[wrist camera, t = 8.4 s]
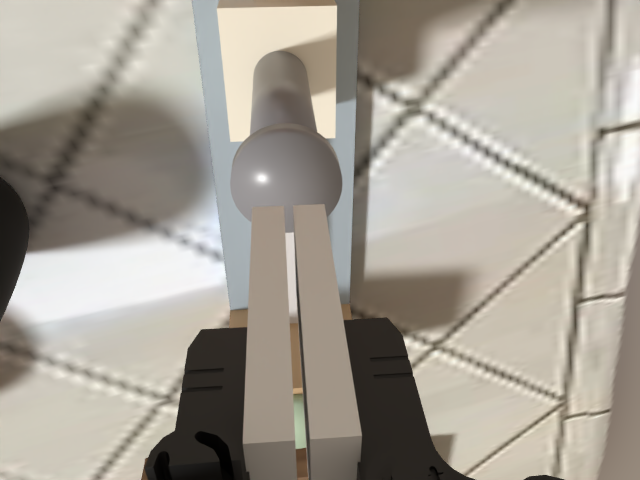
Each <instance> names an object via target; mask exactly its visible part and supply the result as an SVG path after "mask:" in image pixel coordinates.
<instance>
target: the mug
mask: <svg viewBox="0 0 640 480" xmlns="http://www.w3.org/2000/svg"><path fill="white" fill-rule="evenodd" d="M28 239H29V223H28V217H27V213H26V210H25V207H24V205H23V203H22V201H21V199H20V198H19V196H18V195H17V193H16V192H15V191H14V190H13V189H12V188H11V186H10V185H9V184H7V183H6V182H5V181H4V180H3V179H1V178H0V321H1V319H2V317H3V315H4V312H5V310H6V308H7V305H8V303H9V301H10V298H11V296H12V293H13V291H14V288H15V286H16V283H17V280H18V277H19V274H20V271H21V268H22V265H23V262H24V258H25V254H26V250H27V245H28Z"/></svg>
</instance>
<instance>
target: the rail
mask: <svg viewBox="0 0 640 480" xmlns="http://www.w3.org/2000/svg"><path fill="white" fill-rule="evenodd" d="M335 2H336V4H337V49H336V132H335V138H325V139H326V140H327V141H328V142H329V143H330V144H331V146H332V147H333V149H334V151H335V152H336V155H337V158H338V161H339V165H340V170H341V174H342V183H343V184H342V192H341V196H340V199H339V201H338V203H337V205H336V207H335V209H334V210H333V211H332V212H331V214H330V215H329V216H328V217H327V223H328V229H329V235H330V241H331V247H332V253H333V260H334V266H335V272H336V278H337V284H338V291H339V297H340V303H341V309H342V315H343V320H352V315H351V310H350V304H349V303H350V273H351V243H352V213H353V183H354V153H355V123H356V93H357V63H358V33H359V3H360V0H335ZM218 3H219V0H192V6H193V14H194V22H195V30H196V38H197V46H198V54H199V62H200V70H201V78H202V86H203V94H204V102H205V110H206V118H207V126H208V134H209V142H210V150H211V159H212V167H213V175H214V183H215V191H216V199H217V207H218V215H219V223H220V231H221V239H222V247H223V255H224V263H225V271H226V279H227V287H228V295H229V303H230V322H229V328H238V327H247V324H248V299H249V274H250V250H251V225H252V222H250V221H249V220H248V219H246V218H245V217H244V216H243V215H242V214H241V212H240V211H239V210H238V208H237V207H236V205H235V203H234V201H233V198H232V195H231V189H230V179H231V170H232V163H233V159H234V156H235V154H236V151H237V150H238V148H239V147H240V145H241V144H242V143H243V141H241V142H230V134H229V124H228V114H227V104H226V94H225V84H224V75H223V65H222V55H221V45H220V35H219V26H218V16H217V6H218ZM285 237H286V258H287V279H288V299H289V320H290V341H291V362H292V382H293V403H294V424H295V445H296V449H301V448H306V435H305V420H304V405H303V390H302V375H301V360H300V344H299V329H298V314H297V299H296V276H295V248H294V232H292V233H285Z"/></svg>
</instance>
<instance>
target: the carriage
mask: <svg viewBox="0 0 640 480" xmlns="http://www.w3.org/2000/svg"><path fill="white" fill-rule="evenodd" d="M217 16H218V26H219V35H220V45H221V55H222V65H223V75H224V84H225V94H226V104H227V114H228V124H229V134H230V142H241V141H243V143H242V144H241V145H240V147H239V148H238V150H237V151H236V154H235V156H234V159H233V163H232V170H231V179H230V189H231V195H232V198H233V201H234V203H235V205H236V207H237V208H238V210H239V211H240V212H241V214H242V215H243V216H244V217H245V218H246V219H248V220H249V221H250V222H252V207H267V206H284V217H285V233H292V232H294V220H293V205H314V204H325V210H326V216H327V217H328V216H329V215H330V214H331V212H332V211H333V210H334V209H335V207H336V205H337V203H338V201H339V199H340V196H341V192H342V184H343V183H342V174H341V170H340V165H339V161H338V158H337V155H336V152H335V151H334V149H333V147H332V146H331V144H330V143H329V142H328V141H327V140H326V139H325V138H335V132H336V49H337V4H336V2H335V0H219V3H218V6H217Z"/></svg>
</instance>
